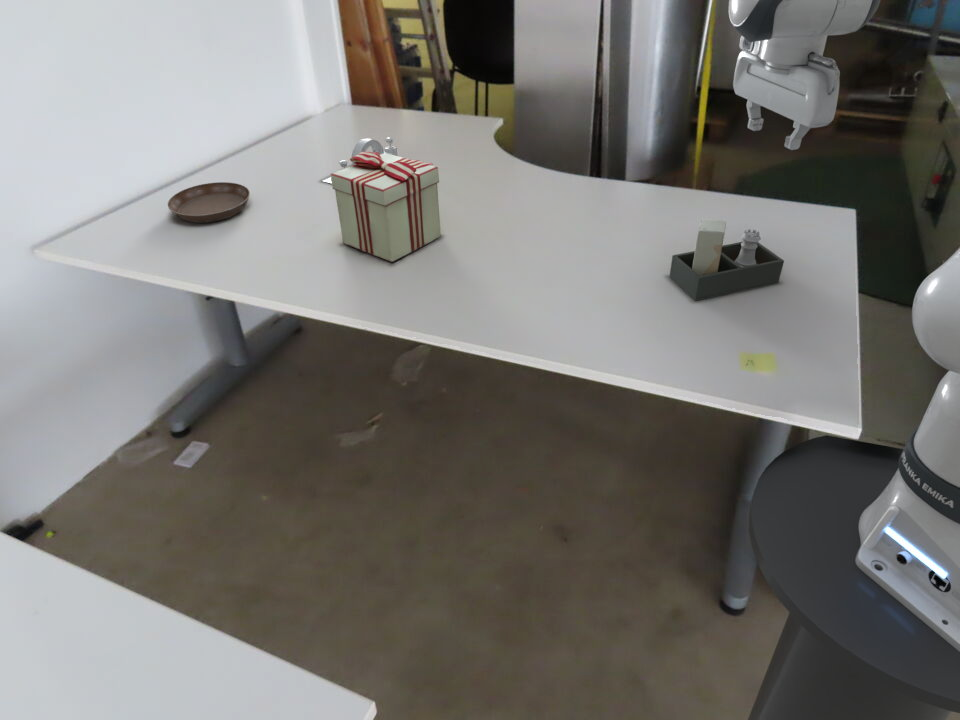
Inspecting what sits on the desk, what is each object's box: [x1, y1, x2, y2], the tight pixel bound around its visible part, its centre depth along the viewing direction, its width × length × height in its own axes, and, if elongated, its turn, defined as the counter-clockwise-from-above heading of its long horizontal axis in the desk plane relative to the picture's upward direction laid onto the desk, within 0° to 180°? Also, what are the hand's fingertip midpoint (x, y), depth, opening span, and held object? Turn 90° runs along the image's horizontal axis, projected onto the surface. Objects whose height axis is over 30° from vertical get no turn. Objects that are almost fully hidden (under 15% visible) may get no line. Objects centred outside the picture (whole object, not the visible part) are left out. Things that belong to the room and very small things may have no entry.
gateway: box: [322, 136, 398, 185], centre depth 171 cm, size 20×2×8 cm, turn 148°
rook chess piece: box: [734, 228, 762, 267], centre depth 123 cm, size 4×4×8 cm
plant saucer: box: [167, 181, 251, 224], centre depth 157 cm, size 18×18×3 cm
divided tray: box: [669, 241, 785, 301], centre depth 124 cm, size 9×17×4 cm, turn 108°
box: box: [692, 218, 727, 276], centre depth 121 cm, size 5×4×11 cm
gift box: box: [330, 151, 442, 263], centre depth 139 cm, size 17×18×17 cm
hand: (772, 138), depth 111 cm, fingers open, 8 cm apart
